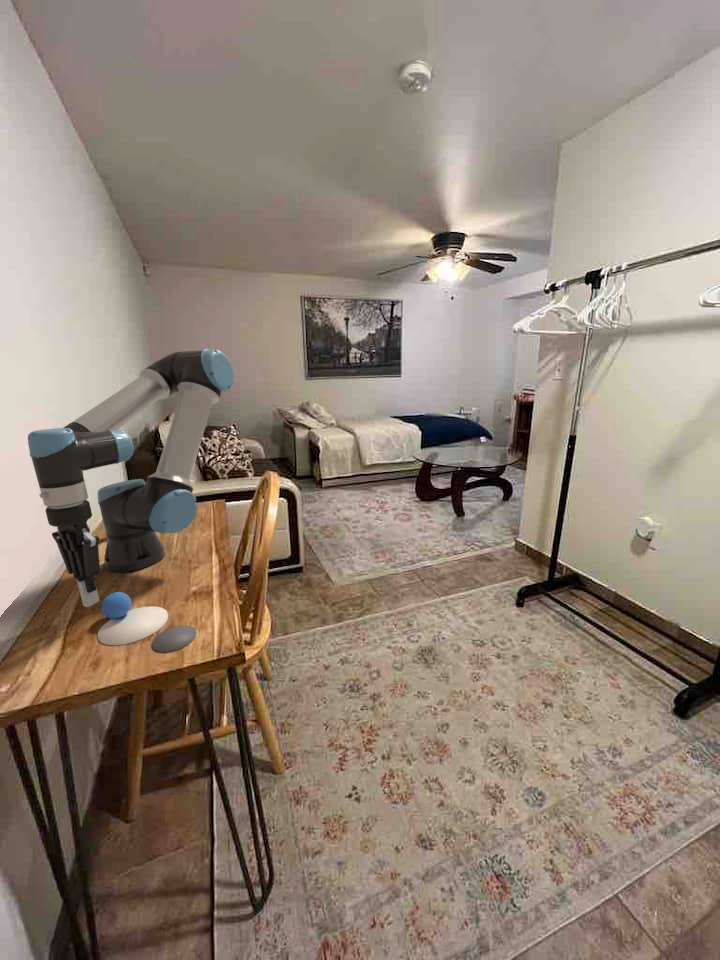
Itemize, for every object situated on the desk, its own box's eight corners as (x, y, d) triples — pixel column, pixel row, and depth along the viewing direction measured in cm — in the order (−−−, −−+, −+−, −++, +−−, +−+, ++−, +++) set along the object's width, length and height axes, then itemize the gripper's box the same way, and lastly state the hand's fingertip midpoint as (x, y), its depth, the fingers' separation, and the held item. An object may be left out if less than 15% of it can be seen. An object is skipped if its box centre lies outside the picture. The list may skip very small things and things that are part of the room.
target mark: (120, 608, 88) (120, 608, 88) (178, 605, 89) (178, 604, 89) (82, 647, 76) (82, 646, 76) (150, 643, 76) (150, 642, 76)
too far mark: (163, 627, 81) (163, 626, 81) (202, 625, 81) (202, 624, 81) (144, 653, 73) (143, 652, 73) (187, 651, 74) (186, 650, 74)
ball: (133, 589, 85) (137, 614, 85) (123, 587, 89) (126, 611, 89) (105, 598, 81) (109, 624, 81) (95, 595, 84) (99, 620, 84)
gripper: (29, 505, 81) (56, 606, 87) (66, 512, 76) (92, 619, 82) (68, 495, 88) (90, 589, 94) (104, 501, 82) (126, 600, 88)
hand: (91, 603), depth 88 cm, fingers closed
